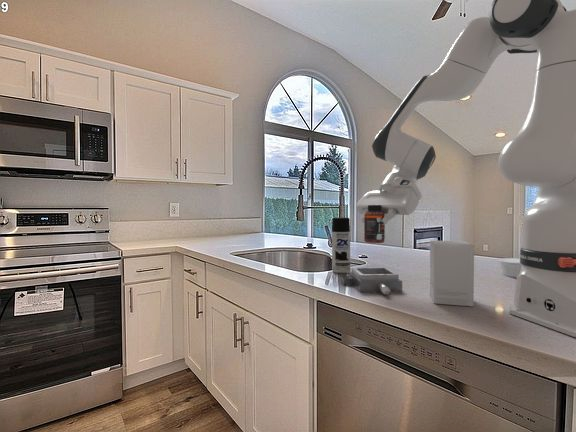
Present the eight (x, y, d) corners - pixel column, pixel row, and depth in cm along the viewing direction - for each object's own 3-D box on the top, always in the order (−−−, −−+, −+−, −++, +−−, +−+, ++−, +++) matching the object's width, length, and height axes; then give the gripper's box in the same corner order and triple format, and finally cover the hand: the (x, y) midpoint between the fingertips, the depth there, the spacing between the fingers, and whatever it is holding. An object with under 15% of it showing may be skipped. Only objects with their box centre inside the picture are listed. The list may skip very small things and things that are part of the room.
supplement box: (474, 307, 76) (475, 244, 76) (433, 304, 79) (433, 243, 78) (466, 297, 85) (466, 240, 84) (429, 294, 87) (429, 239, 87)
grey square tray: (409, 296, 86) (409, 279, 85) (353, 297, 85) (353, 280, 85) (385, 280, 105) (385, 266, 104) (340, 280, 104) (340, 267, 104)
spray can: (333, 273, 115) (333, 218, 114) (330, 270, 122) (330, 217, 121) (352, 273, 115) (352, 217, 114) (348, 269, 122) (348, 217, 121)
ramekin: (495, 275, 110) (495, 260, 110) (503, 271, 117) (503, 256, 117) (536, 281, 102) (536, 264, 101) (542, 275, 109) (542, 260, 109)
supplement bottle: (385, 243, 94) (385, 204, 93) (364, 243, 95) (364, 205, 94) (383, 241, 99) (383, 204, 99) (363, 241, 101) (364, 204, 100)
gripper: (364, 184, 109) (343, 214, 104) (418, 180, 92) (395, 215, 87) (373, 198, 112) (353, 227, 107) (427, 196, 94) (406, 231, 89)
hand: (372, 222), depth 97 cm, fingers closed on supplement bottle, 6 cm apart
